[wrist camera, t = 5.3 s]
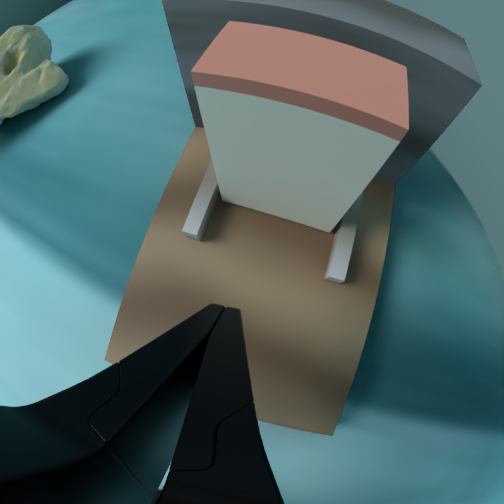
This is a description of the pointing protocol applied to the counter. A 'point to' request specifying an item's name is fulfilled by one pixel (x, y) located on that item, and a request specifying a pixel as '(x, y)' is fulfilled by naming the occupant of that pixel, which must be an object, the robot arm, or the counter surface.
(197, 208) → the wooden platform
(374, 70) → the pink-topped white block
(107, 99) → the counter surface
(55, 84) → the cheese
